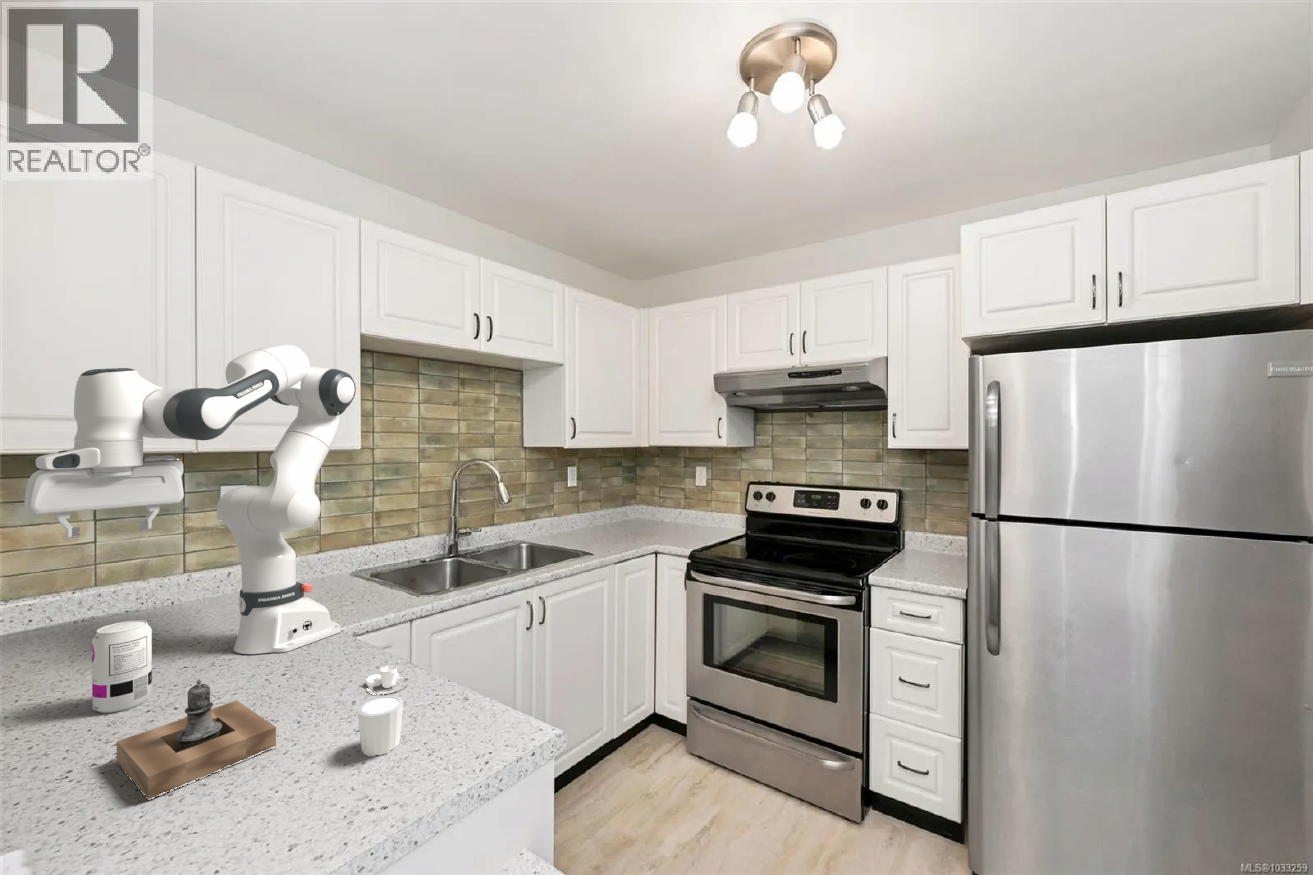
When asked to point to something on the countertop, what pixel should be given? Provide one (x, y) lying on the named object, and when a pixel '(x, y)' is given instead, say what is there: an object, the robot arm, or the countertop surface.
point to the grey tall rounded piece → (198, 718)
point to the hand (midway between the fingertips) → (110, 533)
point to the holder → (193, 749)
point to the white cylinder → (380, 724)
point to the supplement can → (121, 666)
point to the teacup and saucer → (383, 678)
